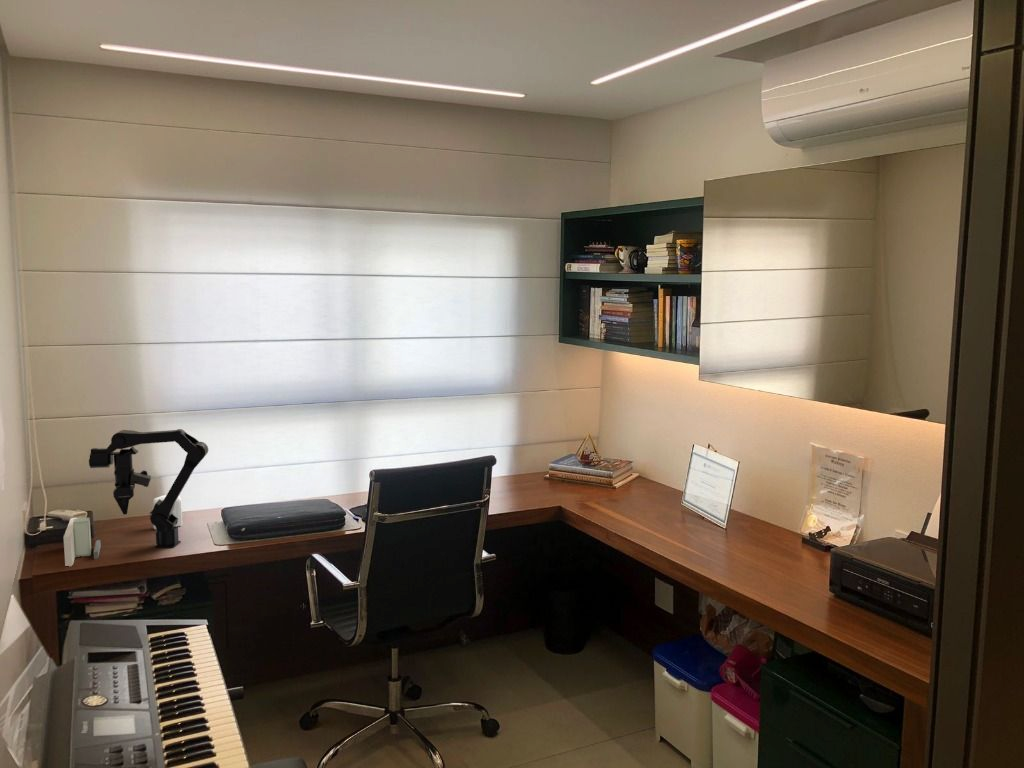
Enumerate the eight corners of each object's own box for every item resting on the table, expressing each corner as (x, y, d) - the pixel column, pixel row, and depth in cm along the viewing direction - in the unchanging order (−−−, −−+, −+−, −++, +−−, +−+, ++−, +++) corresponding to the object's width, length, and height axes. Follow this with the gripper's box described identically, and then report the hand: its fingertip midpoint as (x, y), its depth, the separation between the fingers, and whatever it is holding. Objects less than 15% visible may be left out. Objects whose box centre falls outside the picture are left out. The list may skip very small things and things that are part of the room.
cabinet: (91, 551, 284) (89, 517, 283) (90, 555, 280) (88, 521, 278) (76, 553, 282) (74, 518, 281) (75, 557, 278) (73, 522, 277)
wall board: (101, 542, 294) (100, 515, 293) (96, 563, 272) (95, 533, 271) (72, 545, 290) (70, 518, 289) (65, 566, 268) (63, 536, 267)
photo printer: (181, 523, 318) (179, 492, 317) (183, 526, 315) (182, 494, 313) (152, 527, 312) (151, 495, 311) (154, 530, 309) (153, 498, 307)
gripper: (148, 470, 280) (150, 515, 282) (149, 460, 297) (151, 502, 299) (112, 473, 276) (114, 518, 278) (114, 462, 293) (117, 505, 295)
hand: (125, 511), depth 287 cm, fingers open, 9 cm apart
